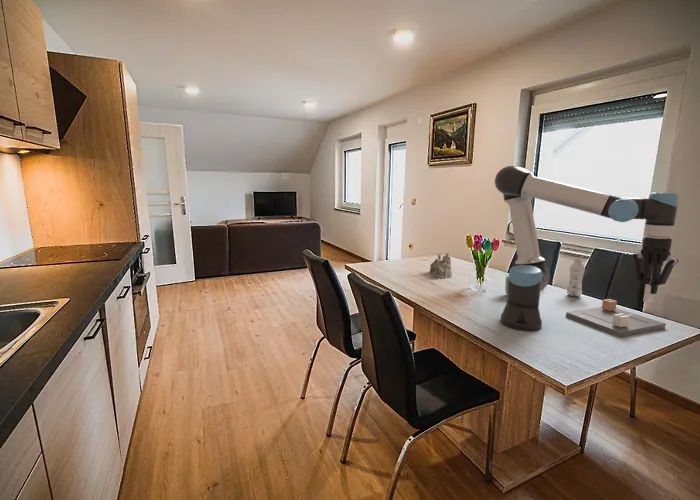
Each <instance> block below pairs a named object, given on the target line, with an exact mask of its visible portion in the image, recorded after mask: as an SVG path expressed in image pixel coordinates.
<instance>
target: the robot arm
mask: <svg viewBox="0 0 700 500" xmlns="http://www.w3.org/2000/svg"><path fill="white" fill-rule="evenodd" d="M494 184H495V188H496V190H497V191H499V193H501V194H502V195H503V201H504V203H506V204H507V205H508V207H509V213H510V220H511V223H512V224H511V225H512V226H511V227H512V231H513V232H512V233H513V237H514V243H515V249H516V255H517V260H515V262H514V266H512V267H511V268H510V269H509V272H508V276H509V277H508V278H509V281H508V293H507V294H506V296H507V297H506V304H505V306H504V308H503V311H502V312H501V314H500V319H499V320H500V323H501V324H503V326H506V327H508V328H510V329H515V330H519V331H525V332H526V331H527V332H533V331H534V332H535V331H539V330H542V327H543V320H542V318H541V313H540V310H539V308H540V305H539V304H540V297H541V292H542V290H544V289H545V288H546V287H547V286H548V285H549V283H550V279H551V274H550V270H549V269H548V268H547V263H546V259H545V258H544V257H542V256H541V253H540V248H539V242H538V235H537V230H536V223H535V219H534V212H533V207H532V199H536V200H541V201H545V202H549V203H552V204H555V205H560V206H562V207H563V206H564V207H567V208H571V209H575V210H579V211H582V212H586V213H589V214H594V215H597V216H601V217H604V218H606V219H607V218H608V219H612V220H613V221H615V222H617V223H618V222H619V223H627V222H630V221H631V220H645V224H644V231H643V235H644V237H643V239H642V248H641V250H640V251H639V252H637V253H633V254H632V257H633V259H634V262H635V263H634V264H635V271H636V278H637V281H640V282H642V289H641V291H642V293H643V292H644V293H643V303H646V304H648V303H653V302H654V297H655V295H657V293H658V288H659V286H662V285H665V284H666V283H667V281H668V279H669V277H670V275H671V273H672V270H673V268H674V267H675V266H676V265H677V264H678V263H679V259H676V258H674V257H672V256H671V255H672V254H671V249H672V243H673V240H672V237H673V236H674V229H675V222H676V217H677V211H678V205H679V203H678V202H679V194H677V193H676V192H670V191H669V192H662V191H661V192H651V193H649V195H648V197H642V198H641V197H622V196H617V195H613V194H609V193H604V192H601V191H600V192H599V191H597V190H591V189H587V188H584V187H580V186H575V185H571V184H566V183H563V182H558V181H556V180H555V181H554V180H550V179H546V178H542V177H537V176H534V174H533V172H531V171H530V170H529V169H528V168H525V167H523V166H516V165H508V166H504V167H503V168H501V169H500V170H499V171H498V172H497V173H496V175H495V177H494ZM665 262H666V263H665ZM664 263H665V265H664ZM663 265H664V268H662V267H663Z"/></svg>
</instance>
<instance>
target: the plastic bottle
mask: <svg viewBox="0 0 700 500" xmlns="http://www.w3.org/2000/svg"><path fill="white" fill-rule="evenodd" d="M583 262H584V258H582V257H578V256H577V257H574V258H573V263H572V264H571V265H570V267H569V283H568V287H567V288H566V294H567V295H568V296H571V297H573V298H574V297H575V298H576V297H577V298H579V297H581V296H582V294H583V288H582V287H583V278H584V274H585V271H586V268H585V265H584V264H583Z"/></svg>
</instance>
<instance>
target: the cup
mask: <svg viewBox="0 0 700 500" xmlns="http://www.w3.org/2000/svg"><path fill="white" fill-rule="evenodd" d="M508 277H509V275H507V276H505V284H504V285H505V287H504V288H505V294H506V295H507V293H508V281H509V278H508Z"/></svg>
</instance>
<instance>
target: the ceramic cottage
mask: <svg viewBox="0 0 700 500" xmlns="http://www.w3.org/2000/svg"><path fill="white" fill-rule="evenodd" d="M451 262H452V260H451V256H450V253H449V252H446V254H445V255H443V256H442V255H441V254H438V255H437V258H435V259H434V261H433V262H432V263H431V264H430V265H429V266H430V268H429V271H428V274H430V275H431V276H432V277H431V278H433V277H435V278H434V279H438V278H440V279H439V280H444V279H445V278H446V279H450V278H452V277H453V273H452V267H451V265H452V264H451ZM430 275H429V276H430Z"/></svg>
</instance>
